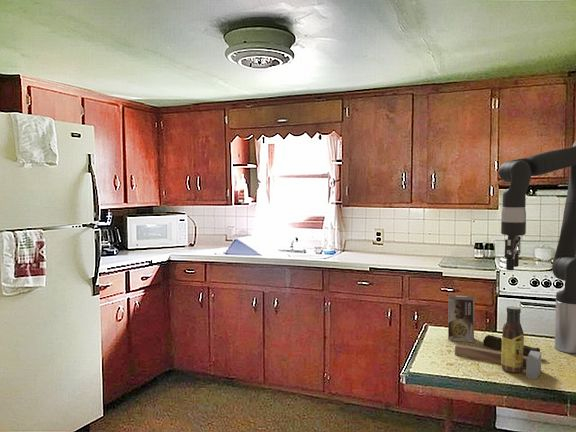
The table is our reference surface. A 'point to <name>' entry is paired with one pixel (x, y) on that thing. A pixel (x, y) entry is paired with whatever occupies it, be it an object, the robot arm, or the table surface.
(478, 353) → the walnut straightedge
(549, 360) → the table surface
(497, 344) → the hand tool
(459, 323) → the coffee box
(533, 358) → the end stop
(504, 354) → the sauce bottle
